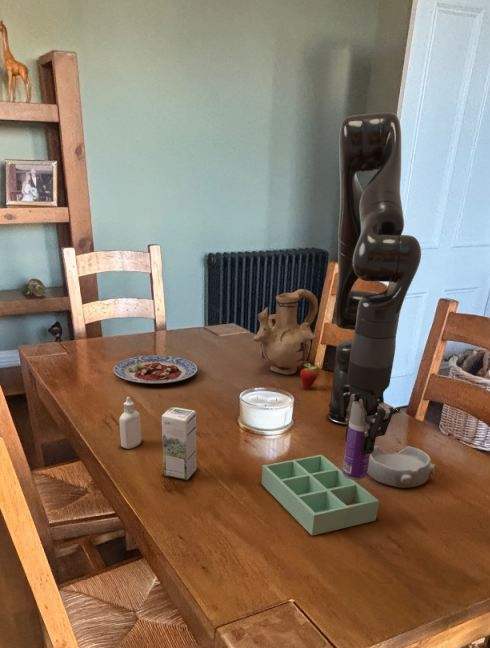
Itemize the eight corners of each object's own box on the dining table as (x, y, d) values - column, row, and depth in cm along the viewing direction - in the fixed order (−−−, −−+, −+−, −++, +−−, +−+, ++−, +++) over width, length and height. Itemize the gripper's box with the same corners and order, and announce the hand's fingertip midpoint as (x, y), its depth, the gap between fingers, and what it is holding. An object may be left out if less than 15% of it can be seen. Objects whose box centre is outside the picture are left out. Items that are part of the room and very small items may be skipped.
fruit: (319, 389, 184) (322, 364, 180) (306, 393, 181) (308, 366, 177) (308, 384, 187) (311, 359, 183) (295, 387, 185) (297, 361, 181)
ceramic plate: (213, 372, 194) (213, 363, 193) (162, 396, 176) (162, 386, 174) (150, 356, 206) (150, 348, 204) (96, 377, 187) (95, 367, 185)
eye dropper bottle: (146, 445, 147) (143, 398, 141) (124, 450, 145) (120, 402, 138) (138, 438, 150) (136, 392, 144) (117, 443, 148) (113, 396, 142)
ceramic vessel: (261, 359, 207) (265, 282, 194) (317, 364, 204) (325, 286, 191) (250, 376, 192) (253, 294, 179) (310, 383, 189) (318, 299, 176)
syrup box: (197, 469, 138) (197, 409, 130) (186, 481, 133) (185, 419, 125) (174, 465, 139) (172, 405, 132) (163, 476, 134) (160, 415, 127)
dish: (353, 467, 141) (356, 447, 139) (403, 457, 146) (406, 438, 143) (390, 496, 130) (394, 475, 127) (442, 485, 135) (447, 465, 132)
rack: (319, 472, 138) (321, 454, 136) (375, 520, 122) (379, 500, 119) (261, 484, 133) (262, 465, 130) (311, 535, 116) (314, 515, 114)
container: (366, 481, 116) (378, 407, 108) (341, 478, 117) (351, 404, 109) (366, 470, 120) (378, 398, 112) (342, 467, 121) (352, 395, 113)
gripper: (414, 369, 102) (397, 460, 111) (365, 345, 113) (354, 430, 122) (377, 374, 100) (363, 467, 109) (331, 349, 111) (321, 435, 120)
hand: (358, 447), depth 115 cm, fingers closed on container, 4 cm apart
